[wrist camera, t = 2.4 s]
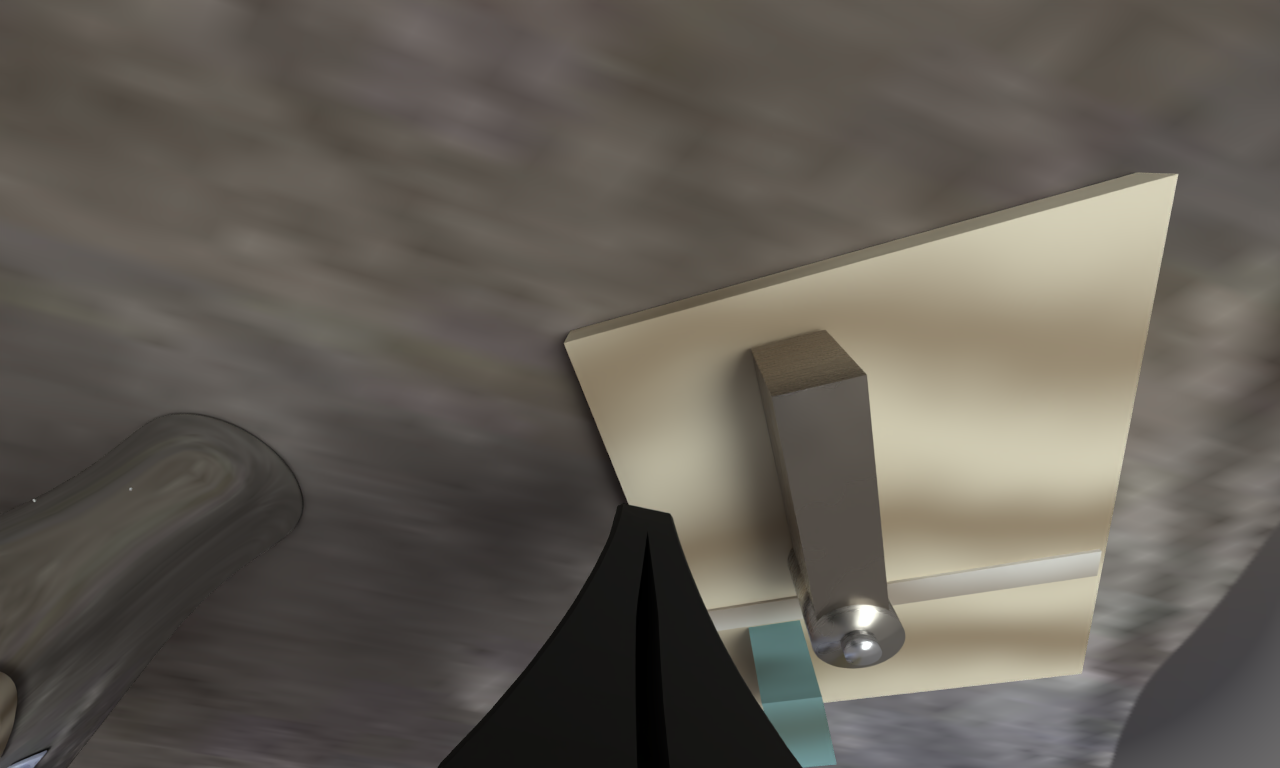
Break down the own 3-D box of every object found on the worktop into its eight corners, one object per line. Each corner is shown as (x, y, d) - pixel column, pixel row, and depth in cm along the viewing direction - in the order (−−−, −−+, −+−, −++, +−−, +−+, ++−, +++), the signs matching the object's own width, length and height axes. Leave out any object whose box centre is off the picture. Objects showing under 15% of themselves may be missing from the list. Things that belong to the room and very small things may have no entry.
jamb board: (1062, 649, 19) (1148, 756, 16) (711, 692, 22) (719, 791, 18) (1137, 172, 11) (1344, 179, 8) (570, 330, 14) (539, 387, 10)
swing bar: (867, 578, 16) (914, 676, 13) (793, 590, 17) (821, 687, 14) (837, 326, 12) (894, 384, 9) (739, 351, 12) (763, 413, 9)
